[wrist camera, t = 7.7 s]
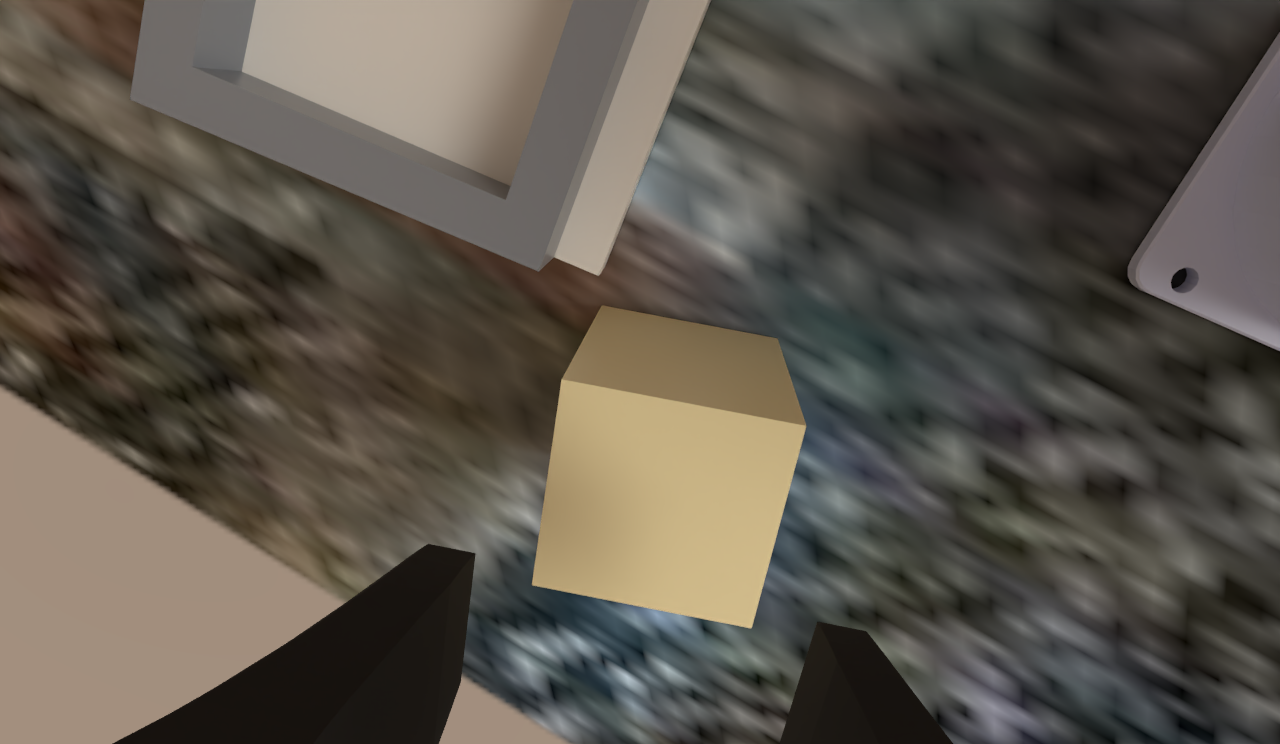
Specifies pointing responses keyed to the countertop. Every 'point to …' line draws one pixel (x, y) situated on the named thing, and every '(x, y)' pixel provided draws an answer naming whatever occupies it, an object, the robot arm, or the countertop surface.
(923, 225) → the countertop surface
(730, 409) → the tan block
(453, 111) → the panel
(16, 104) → the countertop surface
